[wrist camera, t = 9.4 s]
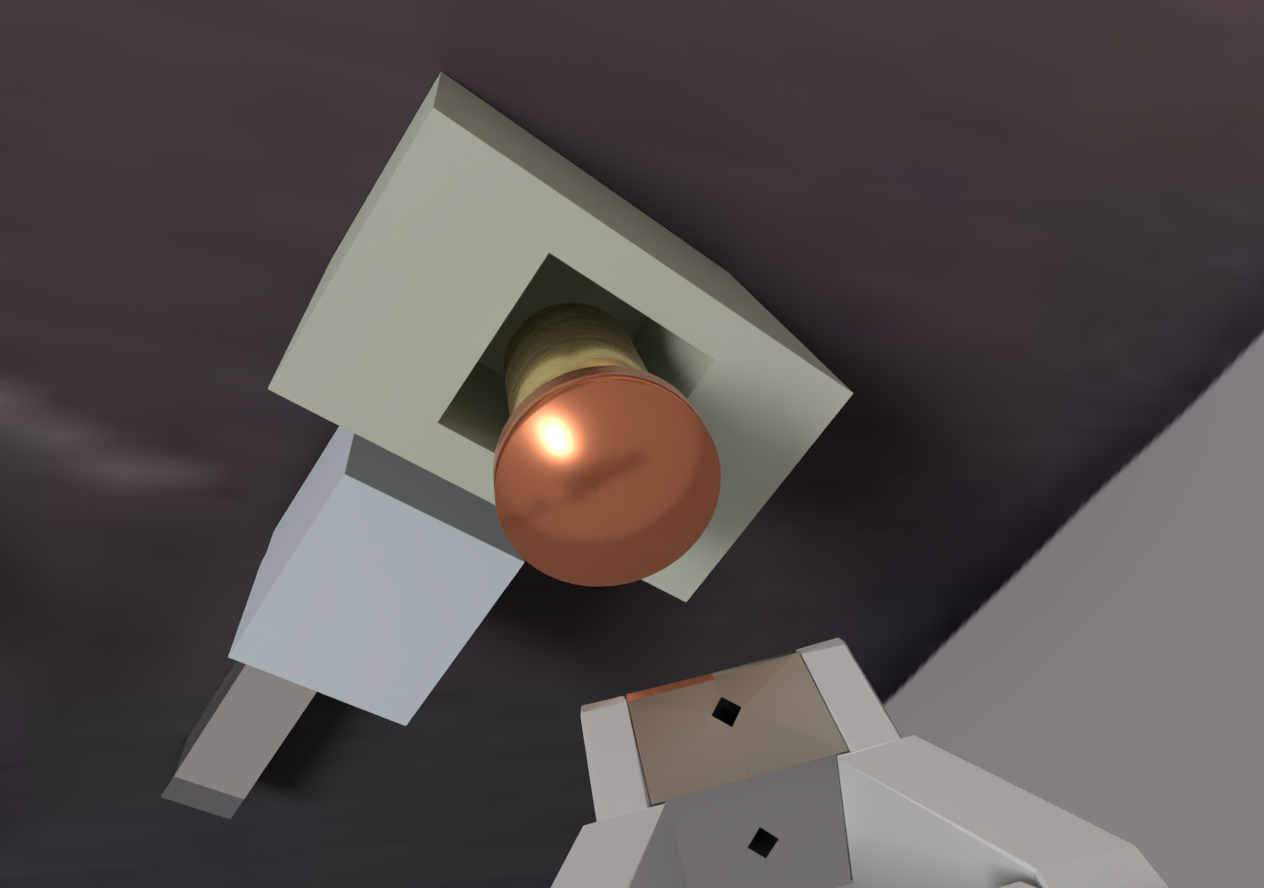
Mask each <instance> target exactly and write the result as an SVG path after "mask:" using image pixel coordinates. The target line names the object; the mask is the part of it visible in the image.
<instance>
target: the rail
mask: <svg viewBox="0 0 1264 888" xmlns="http://www.w3.org/2000/svg"><path fill="white" fill-rule="evenodd" d="M316 692H317V691H314V690H311V689H309V688H306V687H304V686H301V685H299V684H296V683H293V682H291V681H288V680H286V679H283V678H280V677H278V676H275V675H273V674H270V673H268V672H265V671H262V670H260V669H257V668H255V667H252V666H249V665H247V664H244V663H242V662H239V661H237V660H236V662H235V663H234V665H233V666H232V668H231V669H230V671H229V673H228V674H227V676H226V677H225V679H224V680H223V682H222V683H221V685H220V687H219V688H218V690H217V691H216V693H215V694H214V696H213V698H212V699H211V701H210V702H209V704H208V705H207V707H206V709H205V710H204V712H203V713H202V715H201V716H200V718H199V719H198V721H197V723H196V724H195V726H194V727H193V729H192V730H191V732H190V734H189V735H188V737H187V738H186V740H185V741H184V743H183V744H182V746H181V748H180V749H179V751H178V752H177V754H176V757H175V760H174V762H173V765H172V768H171V770H170V773H169V776H168V778H167V781H166V784H165V786H164V789H163V792H162V794H161V797H162V798H165V799H169V800H172V801H175V802H178V803H181V804H184V805H187V806H191V807H194V808H197V809H200V810H203V811H206V812H209V813H213V814H216V815H219V816H222V817H225V818H228V819H231V818H232V816H233V815H234V813H235V812H236V810H237V809H238V807H239V806H240V804H241V803H242V801H243V800H244V798H245V797H246V795H247V794H248V793H249V791H250V790H251V788H252V787H253V785H254V784H255V782H256V781H257V779H258V778H259V776H260V775H261V773H262V772H263V770H264V769H265V768H266V766H267V765H268V763H269V762H270V760H271V759H272V757H273V756H274V754H275V753H276V751H277V750H278V748H279V747H280V745H281V744H282V743H283V741H284V740H285V738H286V737H287V735H288V734H289V732H290V731H291V729H292V728H293V726H294V725H295V723H296V722H297V720H298V719H299V717H300V716H301V715H302V713H303V712H304V710H305V709H306V707H307V706H308V704H309V703H310V701H311V700H312V698H313V697H314V695H315V694H316Z"/></svg>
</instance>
